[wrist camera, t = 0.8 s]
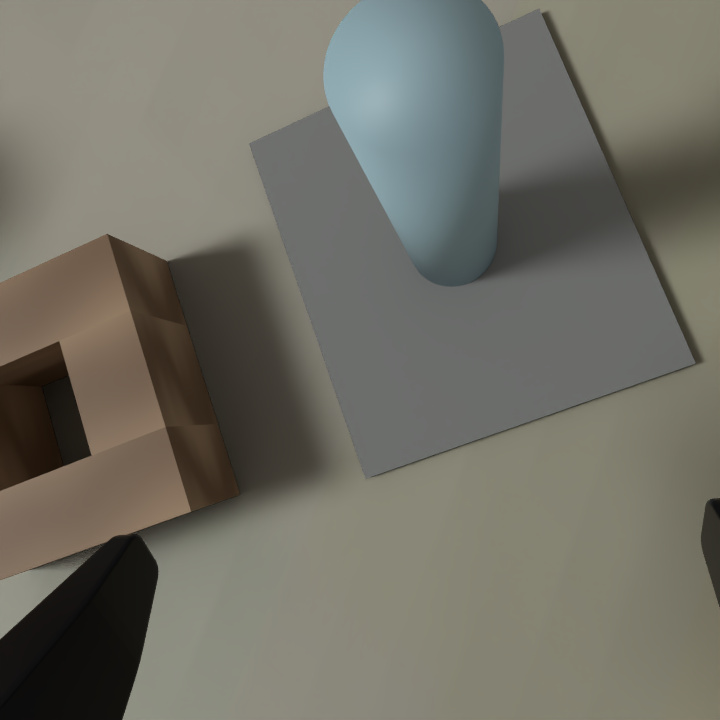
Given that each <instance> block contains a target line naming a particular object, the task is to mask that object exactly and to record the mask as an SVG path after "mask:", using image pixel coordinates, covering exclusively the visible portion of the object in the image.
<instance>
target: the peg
mask: <svg viewBox="0 0 720 720" xmlns="http://www.w3.org/2000/svg"><path fill="white" fill-rule="evenodd" d="M323 72H324V88H325V94H326V97H327V101H328V104H329V106H330V108H331V111H332V113H333V115H334V117H335V118H336V120H337V122H338V124H339V126H340V128H341V130H342V132H343V133H344V135H345V137H346V139H347V141H348V143H349V145H350V146H351V148H352V150H353V152H354V154H355V156H356V158H357V160H358V161H359V163H360V165H361V167H362V169H363V171H364V173H365V175H366V176H367V178H368V180H369V182H370V184H371V186H372V188H373V189H374V191H375V193H376V195H377V197H378V199H379V201H380V203H381V204H382V206H383V208H384V210H385V212H386V214H387V216H388V217H389V219H390V221H391V223H392V225H393V227H394V229H395V231H396V232H397V234H398V236H399V238H400V240H401V242H402V244H403V246H404V247H405V249H406V251H407V253H408V255H409V257H410V259H411V260H412V262H413V264H414V266H415V268H416V269H417V270H418V272H419V273H420V274H421V275H422V276H423V277H424V278H426V279H427V280H429V281H431V282H433V283H435V284H438V285H441V286H449V287H453V286H461V285H465V284H468V283H470V282H472V281H474V280H475V279H477V278H479V277H480V276H481V275H482V274H483V273H484V272H485V271H486V270H487V269H488V267H489V266H490V264H491V263H492V261H493V258H494V256H495V252H496V247H497V228H498V203H499V178H500V153H501V127H502V102H503V77H504V45H503V40H502V35H501V32H500V29H499V26H498V24H497V22H496V20H495V18H494V16H493V14H492V13H491V11H490V10H489V9H488V7H487V6H486V5H485V4H484V3H483V2H482V1H481V0H362V1H360V2H359V3H358V4H357V5H356V6H355V7H354V8H353V9H351V11H350V12H349V13H348V14H347V15H346V16H345V18H344V19H343V20H342V22H341V23H340V25H339V26H338V28H337V29H336V31H335V33H334V35H333V37H332V39H331V41H330V44H329V47H328V49H327V53H326V57H325V63H324V71H323Z"/></svg>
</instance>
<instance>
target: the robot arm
mask: <svg viewBox="0 0 720 720" xmlns="http://www.w3.org/2000/svg"><path fill="white" fill-rule="evenodd" d="M701 545H702V550H703V554H704V557H705V561H706V564H707V567H708V571H709V574H710V577H711V580H712V584H713V587H714V590H715V594H716V597H717V600H718V604H719V607H720V498H714V499H710V500H708V502H707V503H706V506H705V513H704V519H703V526H702V532H701ZM157 580H158V565H157V562H156V560H155V559H154V557H153V556H152V554H151V552H150V551H149V549H148V548H147V546H146V544H145V543H144V541H143V539H142V538H141V537H140V536H138V535H137V534H127V535H117V536H114V537H112V538H111V539H110V540H108V541H107V542H106V543H105V544H104V545H103V546H102V547H101V548H100V549H99V550H98V551H96V552H95V553H94V554H93V555H92V556H91V557H90V558H89V559H88V560H87V561H85V562H84V563H83V564H82V565H81V566H80V567H79V568H78V569H77V570H76V571H75V572H73V573H72V574H71V575H70V576H69V577H68V578H67V579H66V580H65V581H64V582H62V583H61V584H60V585H59V586H58V587H57V588H56V589H55V590H54V591H53V592H52V593H50V594H49V595H48V596H47V597H46V598H45V599H44V600H43V601H42V602H41V603H39V604H38V605H37V606H36V607H35V608H34V609H33V610H32V611H31V612H30V613H29V614H27V615H26V616H25V617H24V618H23V619H22V620H21V621H20V622H19V623H18V624H16V625H15V626H14V627H13V628H12V629H11V630H10V631H9V632H8V633H7V634H6V635H4V636H3V637H2V638H1V639H0V720H122V719H123V716H124V713H125V709H126V706H127V703H128V700H129V697H130V693H131V690H132V687H133V684H134V681H135V677H136V674H137V671H138V667H139V664H140V659H141V655H142V651H143V647H144V642H145V637H146V632H147V628H148V623H149V618H150V613H151V609H152V604H153V599H154V594H155V590H156V585H157Z"/></svg>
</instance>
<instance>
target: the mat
mask: <svg viewBox="0 0 720 720" xmlns="http://www.w3.org/2000/svg"><path fill="white" fill-rule="evenodd" d="M499 29H500V32H501V35H502V40H503V45H504V77H503V102H502V127H501V153H500V178H499V203H498V228H497V247H496V252H495V256H494V258H493V261H492V263H491V264H490V266H489V267H488V269H487V270H486V271H485V272H484V273H483V274H482V275H481V276H480V277H479V278H477V279H475V280H474V281H472V282H470V283H468V284H465V285H461V286H453V287H449V286H441V285H438V284H435V283H433V282H431V281H429V280H427V279H426V278H424V277H423V276H422V275H421V274H420V273H419V272H418V270H417V269H416V268H415V266H414V264H413V262H412V260H411V259H410V257H409V255H408V253H407V251H406V249H405V247H404V246H403V244H402V242H401V240H400V238H399V236H398V234H397V232H396V231H395V229H394V227H393V225H392V223H391V221H390V219H389V217H388V216H387V214H386V212H385V210H384V208H383V206H382V204H381V203H380V201H379V199H378V197H377V195H376V193H375V191H374V189H373V188H372V186H371V184H370V182H369V180H368V178H367V176H366V175H365V173H364V171H363V169H362V167H361V165H360V163H359V161H358V160H357V158H356V156H355V154H354V152H353V150H352V148H351V146H350V145H349V143H348V141H347V139H346V137H345V135H344V133H343V132H342V130H341V128H340V126H339V124H338V122H337V120H336V118H335V117H334V115H333V113H332V111H331V108H330V106H329V107H327V108H325V109H322V110H320V111H318V112H316V113H314V114H312V115H310V116H307V117H305V118H303V119H301V120H299V121H297V122H295V123H292V124H290V125H288V126H286V127H284V128H282V129H279V130H277V131H275V132H273V133H271V134H269V135H267V136H264V137H262V138H260V139H258V140H256V141H254V142H252V143H249V145H250V148H251V150H252V153H253V156H254V159H255V162H256V165H257V168H258V171H259V173H260V176H261V179H262V182H263V185H264V188H265V191H266V194H267V196H268V199H269V202H270V205H271V208H272V211H273V214H274V217H275V219H276V222H277V225H278V228H279V231H280V234H281V237H282V240H283V242H284V245H285V248H286V251H287V254H288V257H289V260H290V263H291V265H292V268H293V271H294V274H295V277H296V280H297V283H298V286H299V288H300V291H301V294H302V297H303V300H304V303H305V306H306V309H307V311H308V314H309V317H310V320H311V323H312V326H313V329H314V332H315V334H316V337H317V340H318V343H319V346H320V349H321V352H322V355H323V357H324V360H325V363H326V366H327V369H328V372H329V375H330V378H331V380H332V383H333V386H334V389H335V392H336V395H337V398H338V401H339V403H340V406H341V409H342V412H343V415H344V418H345V421H346V424H347V426H348V429H349V432H350V435H351V438H352V441H353V444H354V447H355V449H356V452H357V455H358V458H359V461H360V464H361V467H362V470H363V472H364V475H365V478H369V477H372V476H375V475H378V474H381V473H383V472H386V471H389V470H392V469H395V468H398V467H401V466H403V465H406V464H409V463H412V462H415V461H418V460H421V459H424V458H426V457H429V456H432V455H435V454H438V453H441V452H444V451H446V450H449V449H452V448H455V447H458V446H461V445H464V444H467V443H469V442H472V441H475V440H478V439H481V438H484V437H487V436H489V435H492V434H495V433H498V432H501V431H504V430H507V429H509V428H512V427H515V426H518V425H521V424H524V423H527V422H530V421H532V420H535V419H538V418H541V417H544V416H547V415H550V414H552V413H555V412H558V411H561V410H564V409H567V408H570V407H573V406H575V405H578V404H581V403H584V402H587V401H590V400H593V399H595V398H598V397H601V396H604V395H607V394H610V393H613V392H616V391H618V390H621V389H624V388H627V387H630V386H633V385H636V384H638V383H641V382H644V381H647V380H650V379H653V378H656V377H659V376H661V375H664V374H667V373H670V372H673V371H676V370H679V369H681V368H684V367H687V366H690V365H693V364H696V363H695V361H694V358H693V356H692V354H691V351H690V349H689V347H688V345H687V342H686V340H685V338H684V336H683V333H682V331H681V329H680V327H679V324H678V322H677V320H676V317H675V315H674V313H673V311H672V308H671V306H670V304H669V302H668V299H667V297H666V295H665V293H664V290H663V288H662V286H661V284H660V281H659V279H658V277H657V274H656V272H655V270H654V268H653V265H652V263H651V261H650V259H649V256H648V254H647V252H646V250H645V247H644V245H643V243H642V240H641V238H640V236H639V234H638V231H637V229H636V227H635V225H634V222H633V220H632V218H631V216H630V213H629V211H628V209H627V207H626V204H625V202H624V200H623V197H622V195H621V193H620V191H619V188H618V186H617V184H616V182H615V179H614V177H613V175H612V173H611V170H610V168H609V166H608V163H607V161H606V159H605V157H604V154H603V152H602V150H601V148H600V145H599V143H598V141H597V139H596V136H595V134H594V132H593V130H592V127H591V125H590V123H589V120H588V118H587V116H586V114H585V111H584V109H583V107H582V105H581V102H580V100H579V98H578V96H577V93H576V91H575V89H574V86H573V84H572V82H571V80H570V77H569V75H568V73H567V71H566V68H565V66H564V64H563V62H562V59H561V57H560V55H559V53H558V50H557V48H556V46H555V43H554V41H553V39H552V37H551V34H550V32H549V30H548V28H547V25H546V23H545V21H544V19H543V16H542V14H541V12H540V9H537V10H535V11H533V12H531V13H529V14H526V15H524V16H522V17H520V18H518V19H516V20H514V21H511V22H509V23H507V24H505V25H503V26H501V27H499Z"/></svg>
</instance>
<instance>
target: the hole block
mask: <svg viewBox="0 0 720 720" xmlns="http://www.w3.org/2000/svg"><path fill="white" fill-rule="evenodd" d="M68 375H69V377H70V381H71V384H72V388H73V391H74V395H75V398H76V402H77V406H78V409H79V413H80V416H81V420H82V423H83V427H84V430H85V434H86V437H87V441H88V445H89V448H90V452H91V455H92V456H89V457H87V458H84V459H81V460H79V461H76V462H74V463H71V464H69V465H66V466H63V463H62V460H61V456H60V452H59V449H58V445H57V441H56V438H55V434H54V430H53V427H52V423H51V419H50V416H49V412H48V408H47V405H46V401H45V398H44V394H43V390H42V386H44V385H46V384H49V383H51V382H54V381H56V380H58V379H61V378H63V377H66V376H68ZM237 495H240V492H239V489H238V486H237V483H236V480H235V476H234V473H233V470H232V467H231V464H230V461H229V457H228V454H227V451H226V448H225V445H224V441H223V438H222V435H221V432H220V429H219V426H218V422H217V419H216V416H215V413H214V410H213V407H212V403H211V400H210V397H209V394H208V391H207V388H206V384H205V381H204V378H203V375H202V372H201V369H200V365H199V362H198V359H197V356H196V353H195V350H194V346H193V343H192V340H191V337H190V334H189V331H188V327H187V324H186V321H185V318H184V315H183V312H182V308H181V305H180V302H179V299H178V296H177V293H176V289H175V286H174V283H173V280H172V277H171V274H170V270H169V267H168V264H167V261H166V260H163V259H161V258H159V257H157V256H155V255H152V254H150V253H148V252H146V251H144V250H141V249H139V248H137V247H135V246H133V245H130V244H128V243H126V242H124V241H122V240H119V239H117V238H115V237H113V236H110V235H108V234H106V235H104V236H102V237H99V238H97V239H95V240H93V241H91V242H89V243H86V244H84V245H82V246H80V247H78V248H75V249H73V250H71V251H69V252H67V253H64V254H62V255H60V256H58V257H56V258H54V259H51V260H49V261H47V262H45V263H43V264H40V265H38V266H36V267H34V268H32V269H30V270H27V271H25V272H23V273H21V274H19V275H16V276H14V277H12V278H10V279H8V280H6V281H3V282H1V283H0V580H2V579H5V578H8V577H10V576H13V575H16V574H19V573H22V572H25V571H28V570H30V569H33V568H36V567H39V566H42V565H44V564H47V563H50V562H53V561H56V560H58V559H61V558H64V557H67V556H69V555H72V554H75V553H78V552H81V551H83V550H86V549H89V548H92V547H95V546H97V545H100V544H103V543H106V542H107V541H108V540H110V539H111V538H112V537H114V536H117V535H127V534H131V533H134V532H137V531H139V530H142V529H145V528H148V527H151V526H153V525H156V524H159V523H162V522H165V521H167V520H170V519H173V518H176V517H179V516H181V515H184V514H187V513H190V512H193V511H195V510H198V509H201V508H204V507H207V506H209V505H212V504H215V503H218V502H220V501H223V500H226V499H229V498H232V497H234V496H237Z"/></svg>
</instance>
